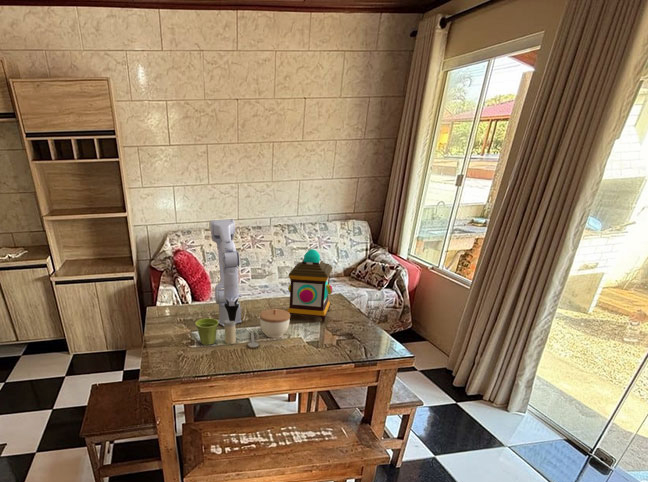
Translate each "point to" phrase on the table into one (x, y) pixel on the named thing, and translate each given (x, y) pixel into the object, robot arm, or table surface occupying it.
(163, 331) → the table surface
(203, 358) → the table surface
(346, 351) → the table surface
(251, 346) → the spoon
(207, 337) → the plant pot
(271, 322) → the lidded bowl
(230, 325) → the shaker
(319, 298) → the decorative lantern
